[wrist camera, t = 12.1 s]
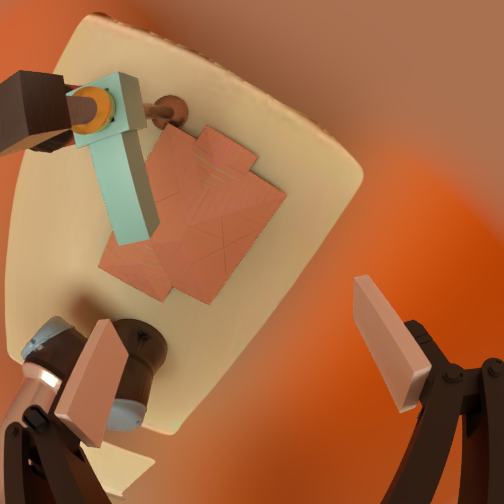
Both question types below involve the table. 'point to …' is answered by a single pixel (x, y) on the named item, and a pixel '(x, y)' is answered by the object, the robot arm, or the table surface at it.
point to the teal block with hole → (123, 162)
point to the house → (195, 216)
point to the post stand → (65, 110)
